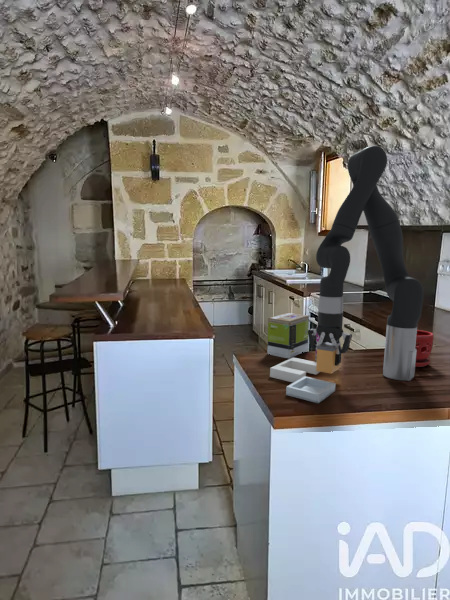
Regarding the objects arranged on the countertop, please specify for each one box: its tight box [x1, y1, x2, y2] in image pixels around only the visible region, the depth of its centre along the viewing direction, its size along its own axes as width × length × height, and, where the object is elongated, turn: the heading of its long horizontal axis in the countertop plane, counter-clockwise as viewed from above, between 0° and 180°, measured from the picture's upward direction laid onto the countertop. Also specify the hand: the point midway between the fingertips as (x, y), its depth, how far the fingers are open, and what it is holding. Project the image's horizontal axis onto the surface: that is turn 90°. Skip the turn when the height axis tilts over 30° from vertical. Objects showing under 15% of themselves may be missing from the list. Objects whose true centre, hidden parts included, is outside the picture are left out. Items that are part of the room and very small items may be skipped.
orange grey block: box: [316, 342, 341, 374], centre depth 136 cm, size 5×7×8 cm
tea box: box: [266, 312, 310, 360], centre depth 168 cm, size 15×10×15 cm, turn 141°
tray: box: [285, 375, 336, 404], centre depth 126 cm, size 10×12×2 cm
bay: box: [269, 356, 321, 383], centre depth 143 cm, size 11×16×3 cm
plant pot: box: [415, 329, 434, 368], centre depth 158 cm, size 13×13×12 cm
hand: (328, 363), depth 136 cm, fingers closed on orange grey block, 5 cm apart
